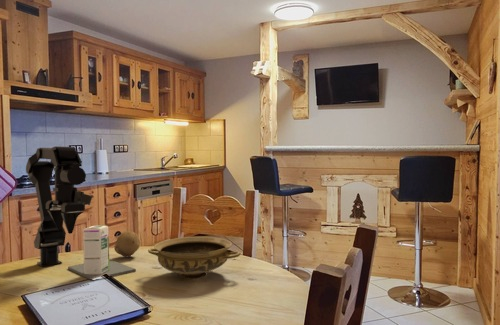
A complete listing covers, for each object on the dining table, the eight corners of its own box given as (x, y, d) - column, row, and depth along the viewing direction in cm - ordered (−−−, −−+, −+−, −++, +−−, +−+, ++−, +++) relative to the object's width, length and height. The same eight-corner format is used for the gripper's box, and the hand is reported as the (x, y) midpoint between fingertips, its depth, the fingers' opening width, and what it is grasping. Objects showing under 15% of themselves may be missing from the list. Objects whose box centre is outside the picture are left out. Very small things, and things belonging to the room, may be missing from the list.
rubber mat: (68, 268, 128) (68, 266, 128) (108, 261, 138) (108, 258, 138) (93, 280, 114) (93, 278, 114) (135, 271, 124) (135, 268, 124)
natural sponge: (145, 256, 144) (145, 230, 144) (124, 261, 137) (124, 233, 137) (132, 253, 150) (132, 228, 150) (111, 257, 143) (111, 231, 143)
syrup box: (101, 274, 117) (101, 228, 117) (83, 274, 118) (82, 228, 118) (109, 269, 123) (109, 225, 123) (92, 269, 123) (91, 225, 124)
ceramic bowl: (130, 284, 110) (129, 250, 110) (165, 263, 133) (165, 235, 133) (230, 290, 103) (229, 254, 103) (249, 267, 127) (248, 237, 127)
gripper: (100, 183, 124) (101, 231, 124) (78, 183, 137) (78, 226, 137) (65, 185, 116) (65, 236, 116) (44, 184, 129) (45, 230, 129)
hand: (65, 231), depth 124 cm, fingers open, 9 cm apart
